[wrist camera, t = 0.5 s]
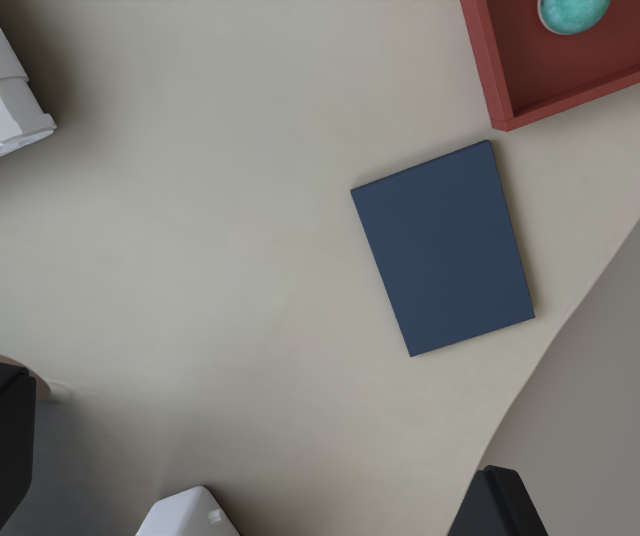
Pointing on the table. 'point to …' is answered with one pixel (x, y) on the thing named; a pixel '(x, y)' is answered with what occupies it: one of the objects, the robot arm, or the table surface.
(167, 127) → the table surface
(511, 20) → the bin
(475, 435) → the table surface
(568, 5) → the whale figurine
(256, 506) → the table surface
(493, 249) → the play mat
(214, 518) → the radio
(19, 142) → the book
